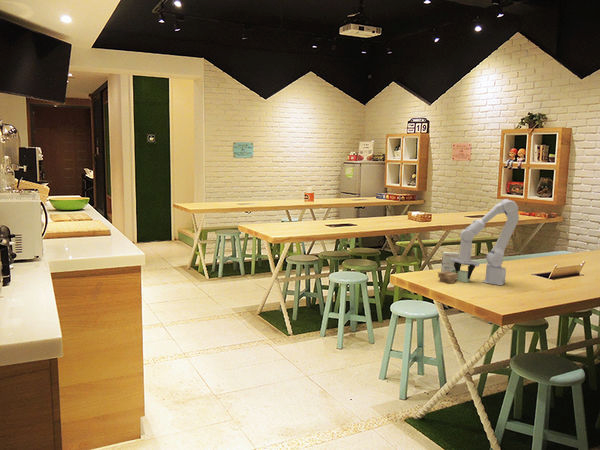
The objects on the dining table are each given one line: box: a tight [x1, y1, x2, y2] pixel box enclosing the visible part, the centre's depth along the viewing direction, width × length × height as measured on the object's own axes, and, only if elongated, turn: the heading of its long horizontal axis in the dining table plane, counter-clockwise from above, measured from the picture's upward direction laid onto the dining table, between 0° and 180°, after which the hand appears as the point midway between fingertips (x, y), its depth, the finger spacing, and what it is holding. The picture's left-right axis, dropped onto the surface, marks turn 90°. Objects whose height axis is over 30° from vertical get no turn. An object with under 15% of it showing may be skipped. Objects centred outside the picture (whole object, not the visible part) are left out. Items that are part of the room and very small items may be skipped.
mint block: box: [456, 269, 471, 283], centre depth 268 cm, size 5×5×5 cm
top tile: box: [437, 271, 458, 280], centre depth 266 cm, size 7×7×2 cm
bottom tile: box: [438, 278, 457, 285], centre depth 266 cm, size 7×7×2 cm
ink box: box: [440, 251, 460, 273], centre depth 284 cm, size 9×5×12 cm, turn 84°
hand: (463, 277), depth 268 cm, fingers closed on mint block, 5 cm apart
